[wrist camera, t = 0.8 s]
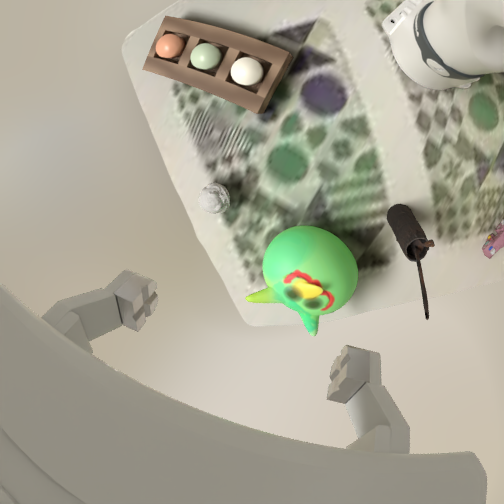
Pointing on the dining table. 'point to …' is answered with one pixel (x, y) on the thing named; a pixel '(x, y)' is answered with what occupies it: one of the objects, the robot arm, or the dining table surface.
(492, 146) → the dining table surface
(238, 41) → the button panel
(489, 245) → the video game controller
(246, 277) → the dining table surface
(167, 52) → the terracotta button
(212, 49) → the sage button
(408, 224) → the butter churn
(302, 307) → the toy bird
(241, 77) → the cream button
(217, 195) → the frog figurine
